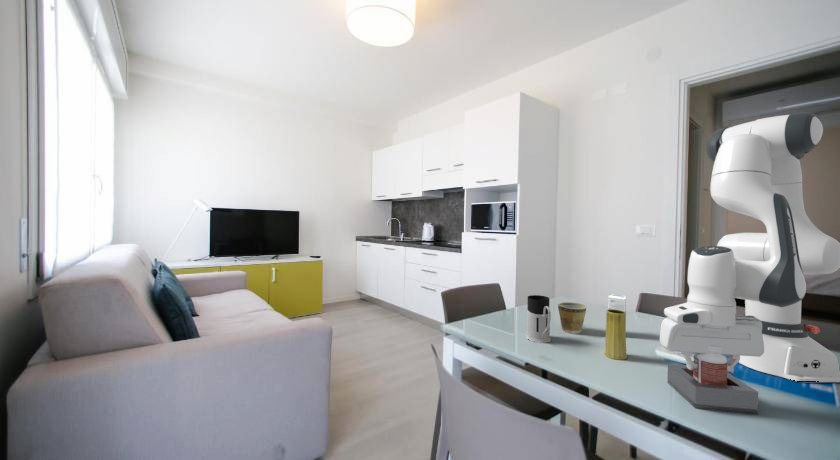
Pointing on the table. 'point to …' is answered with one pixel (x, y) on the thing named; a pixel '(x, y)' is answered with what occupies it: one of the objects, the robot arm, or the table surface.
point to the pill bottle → (711, 366)
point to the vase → (615, 334)
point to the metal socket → (713, 392)
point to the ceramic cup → (572, 316)
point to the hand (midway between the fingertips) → (709, 370)
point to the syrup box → (617, 302)
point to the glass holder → (538, 319)
